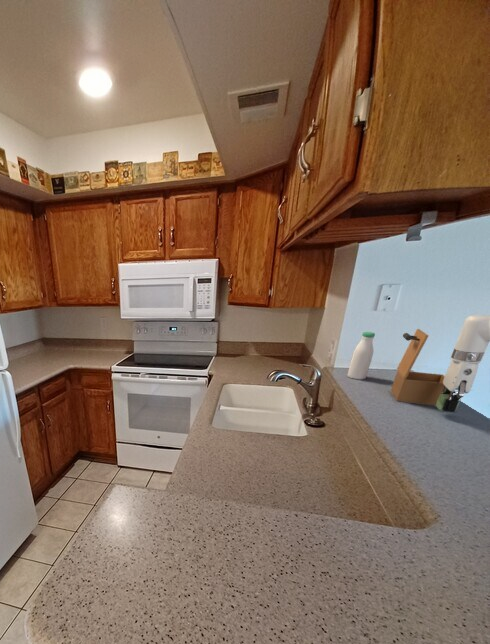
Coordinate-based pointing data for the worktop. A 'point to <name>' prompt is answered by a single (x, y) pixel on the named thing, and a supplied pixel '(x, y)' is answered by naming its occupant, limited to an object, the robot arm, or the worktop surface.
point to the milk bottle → (362, 357)
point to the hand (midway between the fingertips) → (445, 407)
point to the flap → (412, 351)
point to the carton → (418, 387)
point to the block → (443, 401)
